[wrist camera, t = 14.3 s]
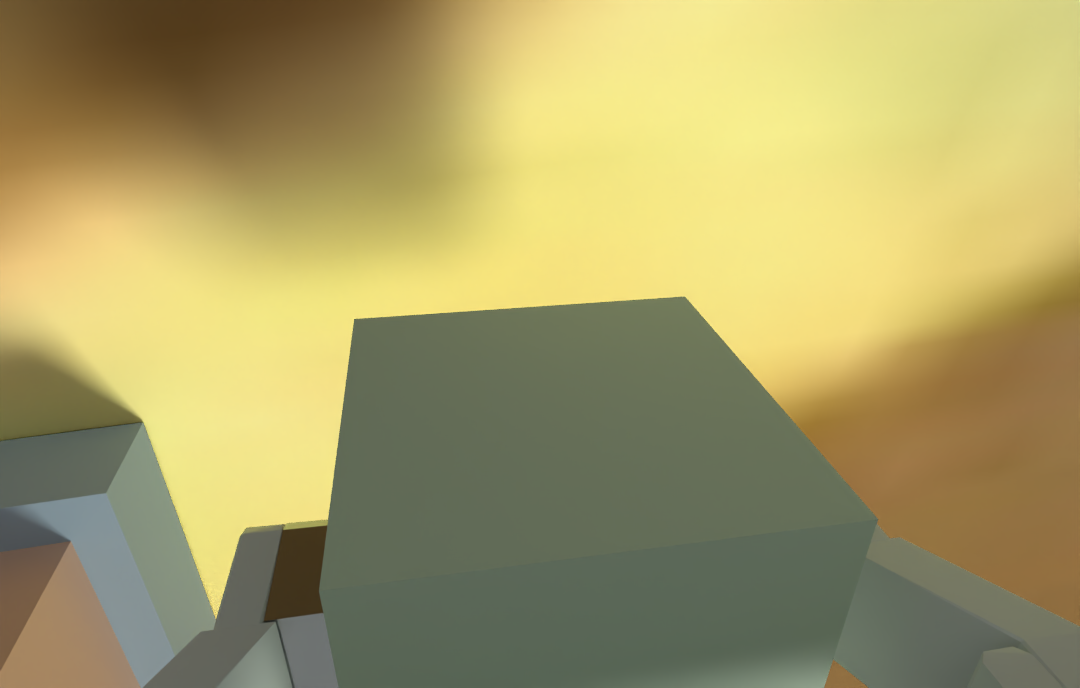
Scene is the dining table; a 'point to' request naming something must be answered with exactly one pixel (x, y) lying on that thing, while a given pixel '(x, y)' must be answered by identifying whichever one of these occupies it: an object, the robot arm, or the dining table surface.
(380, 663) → the sage green cube
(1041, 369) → the dining table surface
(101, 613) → the pinkish brown cube
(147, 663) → the slate blue block
